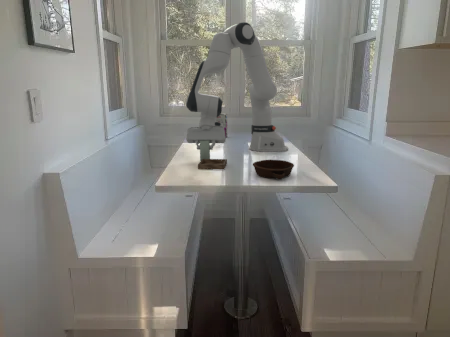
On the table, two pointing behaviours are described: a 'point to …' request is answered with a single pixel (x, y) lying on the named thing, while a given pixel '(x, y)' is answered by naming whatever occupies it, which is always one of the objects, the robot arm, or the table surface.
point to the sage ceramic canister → (204, 149)
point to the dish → (273, 168)
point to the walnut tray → (212, 164)
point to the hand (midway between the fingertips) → (204, 149)
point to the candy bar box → (223, 121)
